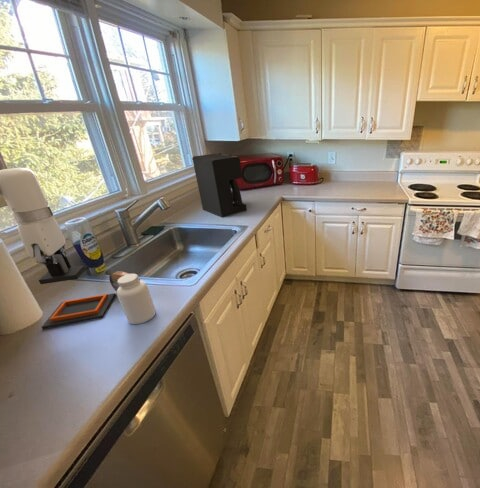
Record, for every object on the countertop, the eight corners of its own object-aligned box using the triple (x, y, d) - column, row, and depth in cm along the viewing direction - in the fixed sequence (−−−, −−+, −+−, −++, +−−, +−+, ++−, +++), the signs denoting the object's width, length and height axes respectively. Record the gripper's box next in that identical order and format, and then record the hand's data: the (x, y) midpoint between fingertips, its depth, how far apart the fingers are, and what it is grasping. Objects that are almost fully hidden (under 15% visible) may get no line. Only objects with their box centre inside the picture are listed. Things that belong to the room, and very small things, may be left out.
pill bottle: (123, 326, 87) (106, 286, 80) (133, 310, 94) (119, 272, 87) (151, 323, 88) (137, 283, 82) (159, 307, 95) (146, 269, 89)
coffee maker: (251, 211, 185) (244, 156, 170) (225, 219, 172) (215, 160, 157) (228, 203, 202) (219, 152, 187) (202, 209, 189) (191, 156, 174)
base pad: (42, 329, 86) (39, 323, 85) (63, 304, 97) (60, 299, 96) (103, 317, 91) (100, 312, 90) (116, 295, 102) (114, 290, 101)
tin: (112, 291, 104) (104, 271, 101) (121, 286, 107) (113, 267, 103) (140, 300, 99) (133, 280, 95) (148, 295, 102) (141, 275, 98)
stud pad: (40, 284, 82) (29, 263, 79) (51, 274, 87) (41, 254, 84) (77, 279, 84) (67, 258, 81) (85, 269, 89) (77, 249, 86)
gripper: (34, 207, 83) (60, 261, 91) (-5, 227, 69) (30, 288, 77) (64, 204, 85) (87, 257, 93) (32, 223, 71) (63, 284, 79)
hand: (61, 271), depth 85 cm, fingers closed on stud pad, 3 cm apart
